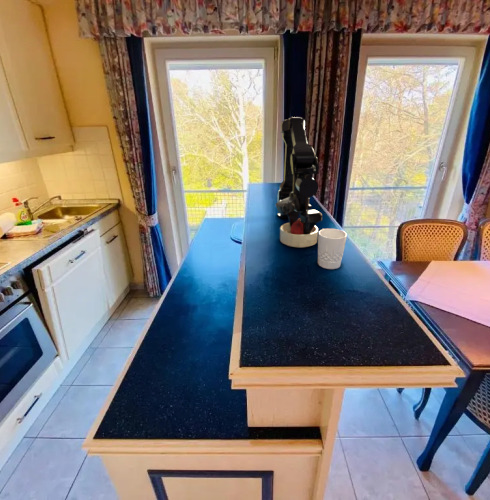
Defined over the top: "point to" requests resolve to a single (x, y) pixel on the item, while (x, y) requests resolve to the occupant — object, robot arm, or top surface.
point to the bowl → (297, 237)
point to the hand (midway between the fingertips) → (298, 233)
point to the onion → (297, 227)
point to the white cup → (331, 248)
